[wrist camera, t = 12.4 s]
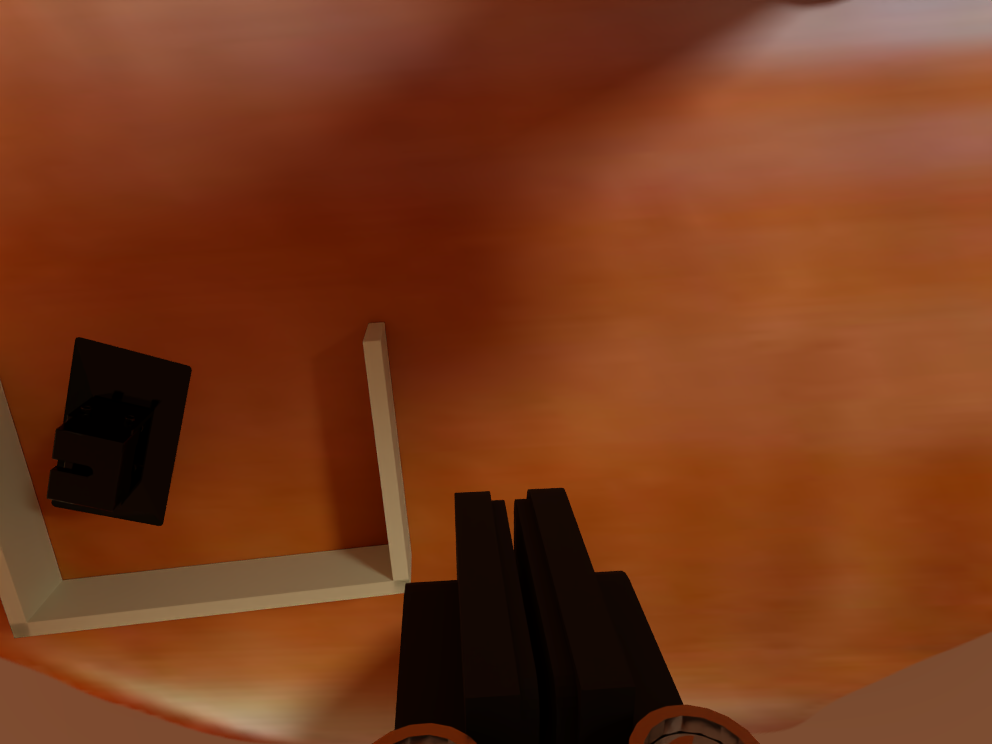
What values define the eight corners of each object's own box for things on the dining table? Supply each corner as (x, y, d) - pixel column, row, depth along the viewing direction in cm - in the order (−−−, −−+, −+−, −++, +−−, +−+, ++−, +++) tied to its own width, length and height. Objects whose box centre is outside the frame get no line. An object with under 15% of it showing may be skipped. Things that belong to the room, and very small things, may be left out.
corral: (-25, 356, 33) (-76, 379, 29) (384, 322, 34) (380, 340, 31) (51, 594, 37) (14, 638, 34) (411, 554, 38) (410, 592, 35)
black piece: (70, 300, 33) (16, 322, 28) (223, 339, 34) (195, 365, 30) (38, 520, 36) (-14, 571, 32) (180, 548, 37) (149, 600, 33)
